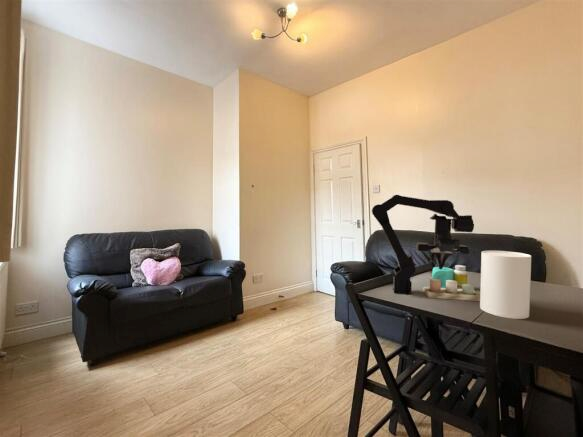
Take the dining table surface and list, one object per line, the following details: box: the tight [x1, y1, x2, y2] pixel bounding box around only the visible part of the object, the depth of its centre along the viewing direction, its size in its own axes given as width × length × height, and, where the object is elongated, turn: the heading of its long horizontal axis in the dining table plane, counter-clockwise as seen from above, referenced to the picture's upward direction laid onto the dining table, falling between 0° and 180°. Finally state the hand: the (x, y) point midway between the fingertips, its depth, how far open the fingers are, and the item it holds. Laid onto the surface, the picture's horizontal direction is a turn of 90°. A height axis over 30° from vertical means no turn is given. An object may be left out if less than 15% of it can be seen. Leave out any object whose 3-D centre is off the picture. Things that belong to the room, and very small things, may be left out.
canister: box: [479, 250, 532, 320], centre depth 96 cm, size 14×14×20 cm
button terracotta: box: [429, 278, 441, 291], centre depth 114 cm, size 4×4×4 cm
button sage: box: [462, 283, 475, 295], centre depth 111 cm, size 4×4×4 cm
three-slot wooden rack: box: [422, 286, 480, 302], centre depth 113 cm, size 19×10×2 cm, turn 75°
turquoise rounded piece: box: [431, 266, 454, 288], centre depth 126 cm, size 8×8×8 cm
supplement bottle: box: [453, 264, 468, 289], centre depth 123 cm, size 5×5×10 cm
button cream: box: [446, 280, 457, 293], centre depth 113 cm, size 4×4×4 cm
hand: (440, 269), depth 113 cm, fingers closed
